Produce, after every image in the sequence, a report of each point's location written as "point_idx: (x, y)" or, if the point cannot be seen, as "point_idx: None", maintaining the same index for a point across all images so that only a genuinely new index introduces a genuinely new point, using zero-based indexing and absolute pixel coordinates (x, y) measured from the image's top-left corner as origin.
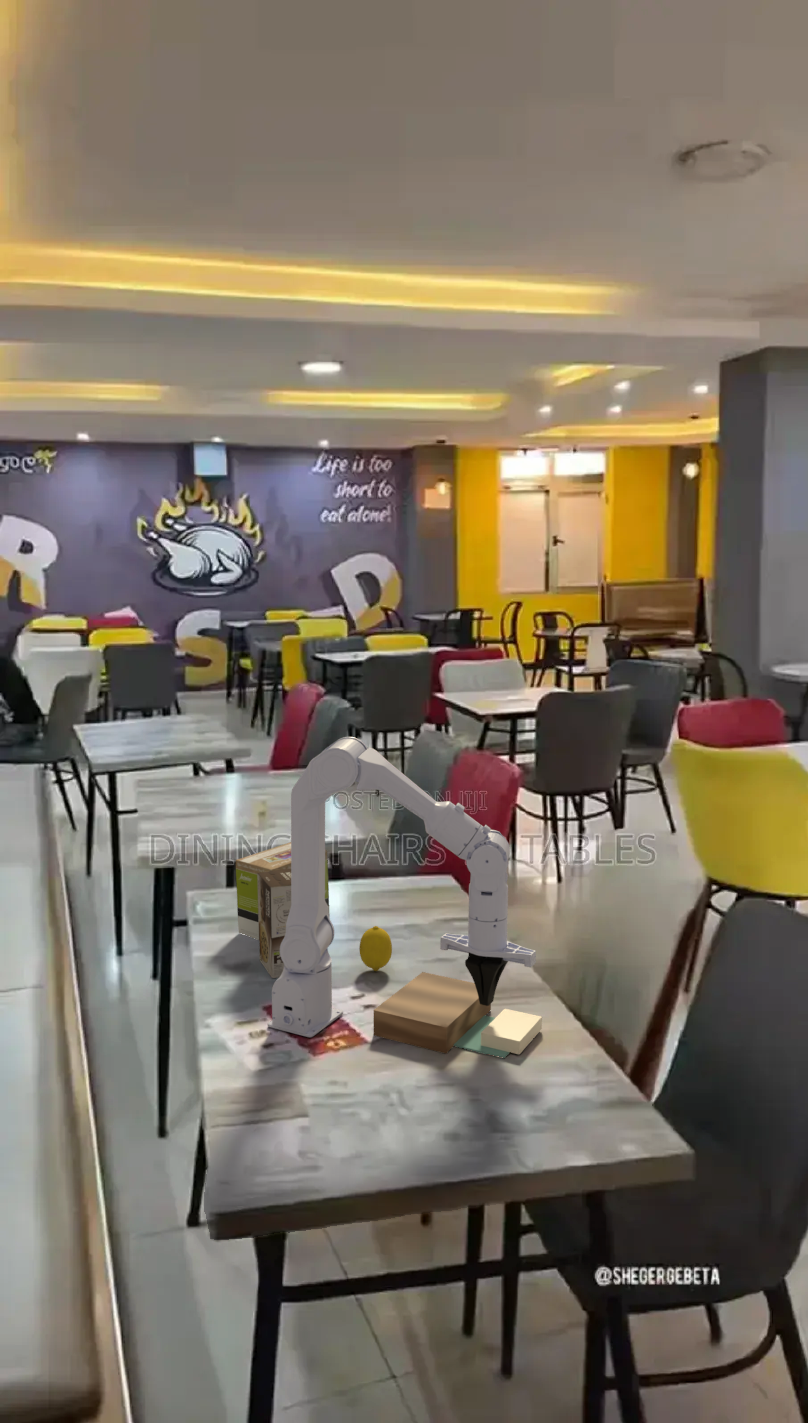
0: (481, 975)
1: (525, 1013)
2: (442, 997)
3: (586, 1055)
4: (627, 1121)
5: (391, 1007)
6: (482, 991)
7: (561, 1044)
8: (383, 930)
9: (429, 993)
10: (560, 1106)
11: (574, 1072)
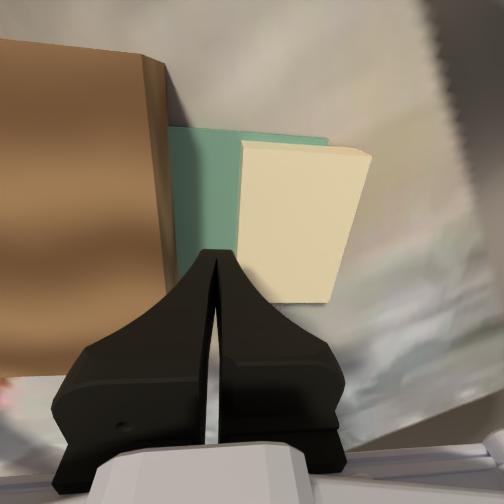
0: (206, 395)
1: (317, 154)
2: (43, 247)
3: (455, 221)
4: (480, 359)
5: None
6: (212, 327)
7: (403, 196)
8: None
9: None
10: (394, 366)
11: (422, 287)
